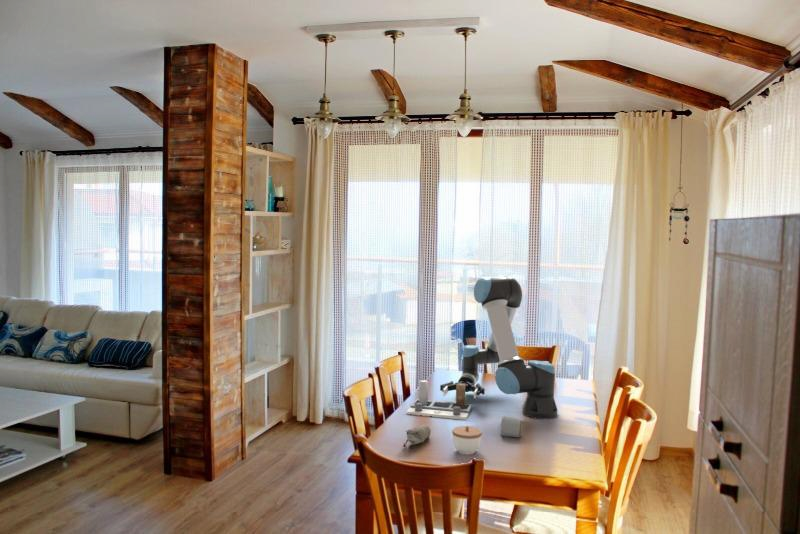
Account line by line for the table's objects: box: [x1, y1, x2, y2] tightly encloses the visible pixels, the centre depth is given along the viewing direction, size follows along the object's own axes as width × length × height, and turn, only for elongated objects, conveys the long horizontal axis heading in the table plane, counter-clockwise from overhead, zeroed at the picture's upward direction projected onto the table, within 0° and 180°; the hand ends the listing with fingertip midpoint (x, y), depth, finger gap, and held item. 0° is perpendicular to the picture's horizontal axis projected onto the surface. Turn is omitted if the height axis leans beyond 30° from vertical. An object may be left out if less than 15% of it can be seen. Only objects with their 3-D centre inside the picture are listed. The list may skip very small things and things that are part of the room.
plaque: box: [406, 403, 469, 421], centre depth 261 cm, size 26×6×4 cm, turn 75°
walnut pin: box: [455, 383, 466, 410], centre depth 267 cm, size 4×4×12 cm
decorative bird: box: [402, 424, 432, 451], centre depth 225 cm, size 5×16×8 cm, turn 148°
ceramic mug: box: [500, 415, 524, 438], centre depth 237 cm, size 11×8×8 cm
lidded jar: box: [451, 425, 483, 456], centre depth 218 cm, size 11×11×9 cm
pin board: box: [409, 379, 473, 415], centre depth 269 cm, size 26×11×12 cm, turn 75°
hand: (459, 394), depth 264 cm, fingers open, 13 cm apart
